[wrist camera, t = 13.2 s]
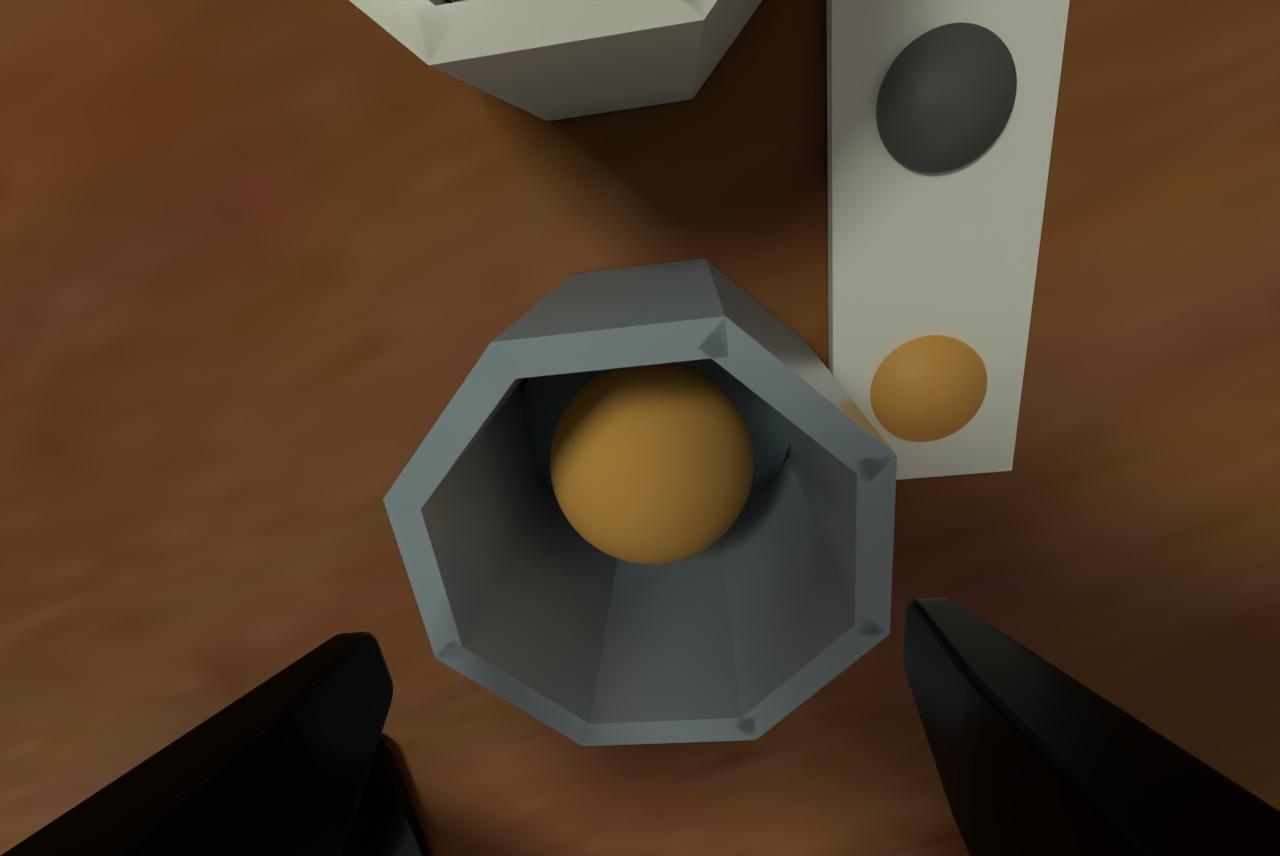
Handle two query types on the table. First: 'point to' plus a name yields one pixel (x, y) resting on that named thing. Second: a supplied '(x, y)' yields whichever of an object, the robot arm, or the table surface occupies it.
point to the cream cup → (569, 47)
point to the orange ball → (651, 462)
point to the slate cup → (650, 593)
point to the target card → (938, 216)
